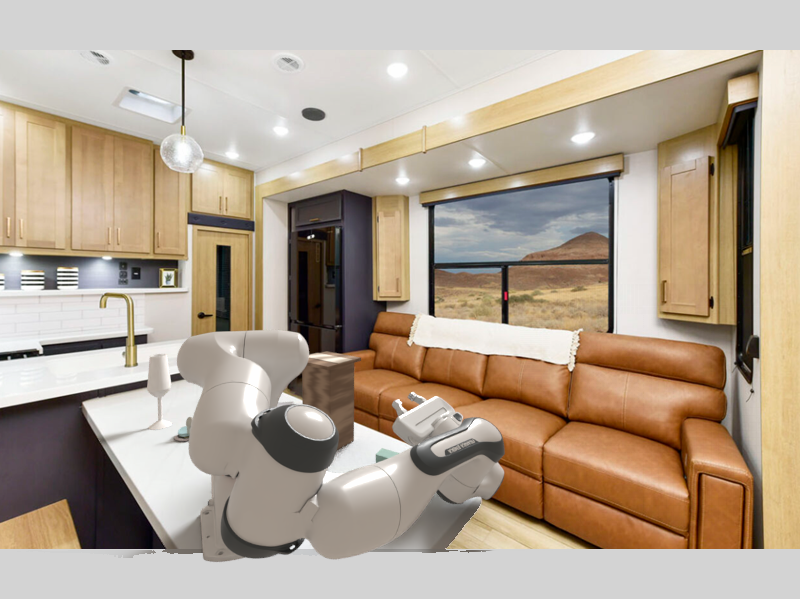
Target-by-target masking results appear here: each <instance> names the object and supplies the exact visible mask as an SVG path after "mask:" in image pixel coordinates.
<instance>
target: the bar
mask: <svg viewBox="0 0 800 599" xmlns="http://www.w3.org/2000/svg"><path fill="white" fill-rule="evenodd" d="M400 453H401V452H397V451H393V450H391V449H386V448H383V447H382V448H381V449H379V451H377V453H375V463H378V462H380V461H383V460H386V459H388V458H391V457H393V456H395V455H397V454H400Z"/></svg>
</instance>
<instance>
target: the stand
mask: <svg viewBox="0 0 800 599" xmlns="http://www.w3.org/2000/svg"><path fill="white" fill-rule="evenodd" d="M361 361H362V357H359V356H354V355H349V354H343V353H337V352H332V351H321V352H315V353H309V359H308V363H307V365H306V367H305V369H304V370H303V371H302V373H301V374H302V377H301V378H302V379H301V380H302V385H301V386H302V387H301V389H302V391H301V392H302V393H301V394H302V396H301V397H302V399H301V400H302V403H301V404H305V405H310V406H313V407H315V408H317V409H319V410H321V411H323V412H324V413H325V414H327V415H328V416H329V417H330V418H331V420H332V421H333V423H334V424H335V426H336V428H337V430H338V433H339V441H338V447H337V450H336V452H337V451H338V450H340V449H343V447H346V446H347V445H349V444H351V443H353V442H354V441H355V363H358V362H361Z"/></svg>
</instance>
